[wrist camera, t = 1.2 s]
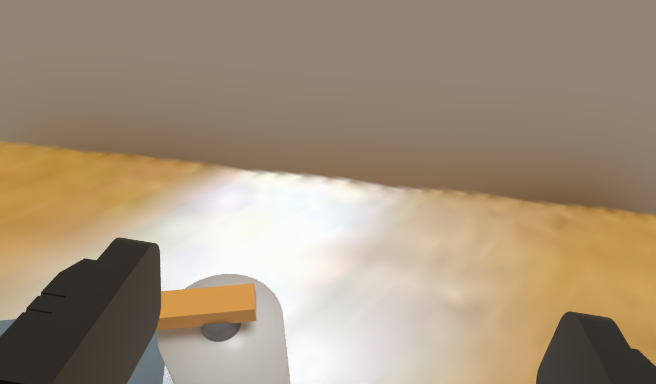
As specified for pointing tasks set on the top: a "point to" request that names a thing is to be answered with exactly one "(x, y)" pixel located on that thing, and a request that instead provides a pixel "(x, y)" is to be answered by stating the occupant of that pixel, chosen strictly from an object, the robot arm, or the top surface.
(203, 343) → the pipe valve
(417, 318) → the top surface
